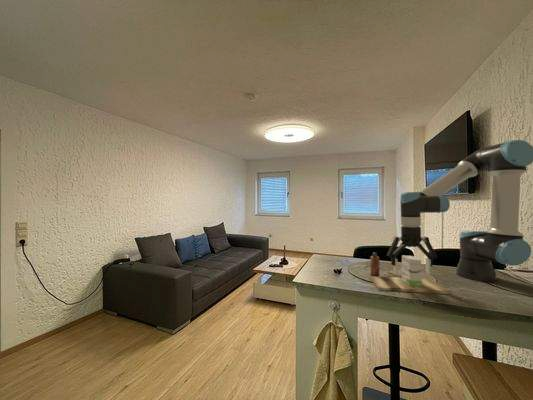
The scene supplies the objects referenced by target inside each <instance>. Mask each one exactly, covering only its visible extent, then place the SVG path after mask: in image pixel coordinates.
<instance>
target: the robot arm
mask: <svg viewBox="0 0 533 400" xmlns="http://www.w3.org/2000/svg"><path fill="white" fill-rule="evenodd" d="M532 163H533V145H532V144H530V143H529V142H528V141H526V140H522V139H515V140H509V141H504V142H501V143H497V144H493V145H489V146H484V147H482V148H480V149H478V150H476V151H474V152H473V153H471V154H470V155H468V156H467V157H465V158H464V159H462V160H461V161H460V162H458V163H457V165H456V166H455V167H454V168H453V169H451V170H449V171H448V172H447V173H445V174H444V175H442V176H441V177H439V178H438V179H436V180H435V181H433V182H432V183H431V184H428V185H427V186H426V187H424V188H423V189H422V190H419V191H406V192H402V193H401V194H400V198H399V199H400V200H399V203H400V225H401V227H400V232H401V233H400V234H401V235H400V236H395V235H394V236H393V241H392V243H391V244H390V247H389V248H388V251H387V253H386V256H387V257H388V258H390V262H391V263H390V264H391V265H392V266H393V267H392V268H393V273H395V274H398V273H399V271H398V268H399V267H398V265H399V264H398V258H397V257H398V256H399V255H400V254H401V253H402V251H403V250H404V249H405V248H407V247H408V248H412V247H413V248H416V247H417V248H418V249H419V250H420V251H421V252H422V254H423V255H425V273H426V274H427V275H432V267H433V266H434V263H433V261H434V260H435V259H437V258H438V255H437V253H436V251H435V249H434V248H433V247H434V246H432V243H431V242H430V238H429V236H421V235H422V229H421V224H422V223H421V222H422V221H421V220H422V219H421V214H424V213H426V214H427V213H429V214H430V213H431V214H433V213H437V214H439V213H446V212H448V211H449V209H450V205H451V203H450V200H449V198H448V197H447V196H444V195H445V194H446V193H448V192H450V191H451V190H452V189H454V188H455V187H457V186H459V185H460V184H461V183H463V182H464V181H466V180H467V179H469V178H473V177H476V176H477V175H479V174H483V173H485V172H487V173H488V174H489V175H490V176H491V177H492V183H491V186H492V187H491V204H490V205H491V207H490V226H489V228H488V229H487V230H483V231H481V230H480V231H478V230H476V231H474V230H469V231H468V230H467V231H466V230H465V231H464V230H463V231H461V232H460V234H459V254H460V255H459V256H460V257H459V262H458V263H457V267H456V268H455V274H456V275H457V276H459V277H462V278H466V279H469V280H475V281H478V282H479V281H480V282H496V281H497V278H498V276H497V274H496V271H495V268H494V265H493V264H492V262H495V263H498V264H499V263H500V264H502V265H507V266H514V267H515V266H520V265H523V264H524V263H526V262H527V261H528V260H529V259H530V257H531V255H532V247H531V245H529V242H528V241H525V240H524V234H523V233H522V232H520V231H519V218H520V199H521V198H520V197H521V176H522V175H523V174H524V173H527V167H528V166H530V165H531V164H532ZM400 241H401V243H400V244H399V242H400ZM421 242H424V244H425V246H426V248H427V249H425V247H424V246H423V245H422V244H421ZM398 244H399V246H398ZM397 246H398V247H397Z"/></svg>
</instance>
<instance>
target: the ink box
mask: <svg viewBox="0 0 533 400" xmlns="http://www.w3.org/2000/svg"><path fill="white" fill-rule="evenodd" d="M422 277H423V276H422V260H421V259H419V258H417V257H415V256H413V255H404V254H403V255H401V278H402V280H403V281H404V282H405V283H407V284H408V285H409V286H415V287H422V279H423V278H422Z"/></svg>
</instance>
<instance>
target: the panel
mask: <svg viewBox="0 0 533 400" xmlns="http://www.w3.org/2000/svg"><path fill="white" fill-rule="evenodd" d="M368 279H369V281H370V282H372V284H373V286H375V288H376V289H377V290H378V291H390V292H392V291H393V292H409V293H410V292H413V293H427V294H428V293H429V294H446V295H447V294H448V295H451V290H450V289H448V288H446V287H445V286H444V285H442V284H440V283H439V282H437V281H435V280H433V279H432V278H422V287H415V286H409V285H408V284H407V283H405V282H404V281H403V280H402V277H394V276H393V277H392V276H379V277H376V276H371V275H369V276H368Z"/></svg>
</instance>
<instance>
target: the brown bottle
mask: <svg viewBox="0 0 533 400" xmlns="http://www.w3.org/2000/svg"><path fill="white" fill-rule="evenodd" d="M369 257H370V276H376V277H380V257H379V256H378V254H377V252H372V255H370V256H369Z"/></svg>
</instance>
